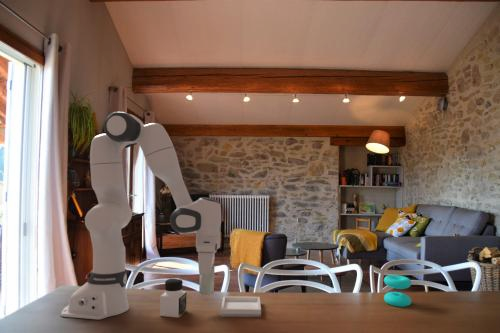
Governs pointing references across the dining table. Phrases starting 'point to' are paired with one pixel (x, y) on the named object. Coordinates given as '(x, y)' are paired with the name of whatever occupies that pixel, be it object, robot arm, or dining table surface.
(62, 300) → the dining table surface
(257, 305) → the grey tray
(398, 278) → the donuts
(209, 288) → the sage cup
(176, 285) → the medicine bottle
